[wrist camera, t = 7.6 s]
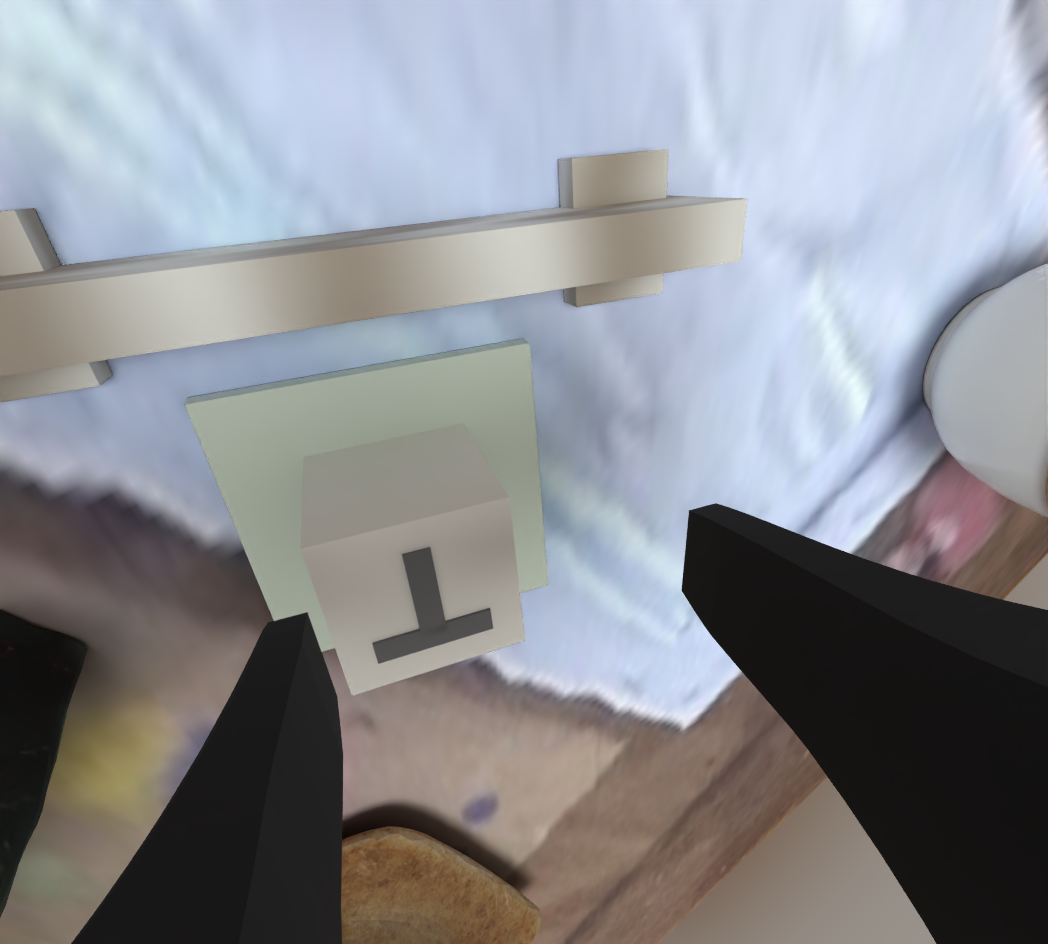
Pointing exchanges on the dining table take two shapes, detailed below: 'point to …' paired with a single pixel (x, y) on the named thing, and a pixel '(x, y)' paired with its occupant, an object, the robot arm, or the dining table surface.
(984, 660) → the robot arm
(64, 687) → the ceramic cat
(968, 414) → the lidded jar
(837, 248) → the dining table surface
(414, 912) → the clay boot
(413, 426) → the pad
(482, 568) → the marked cube
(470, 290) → the beige wooden bar
